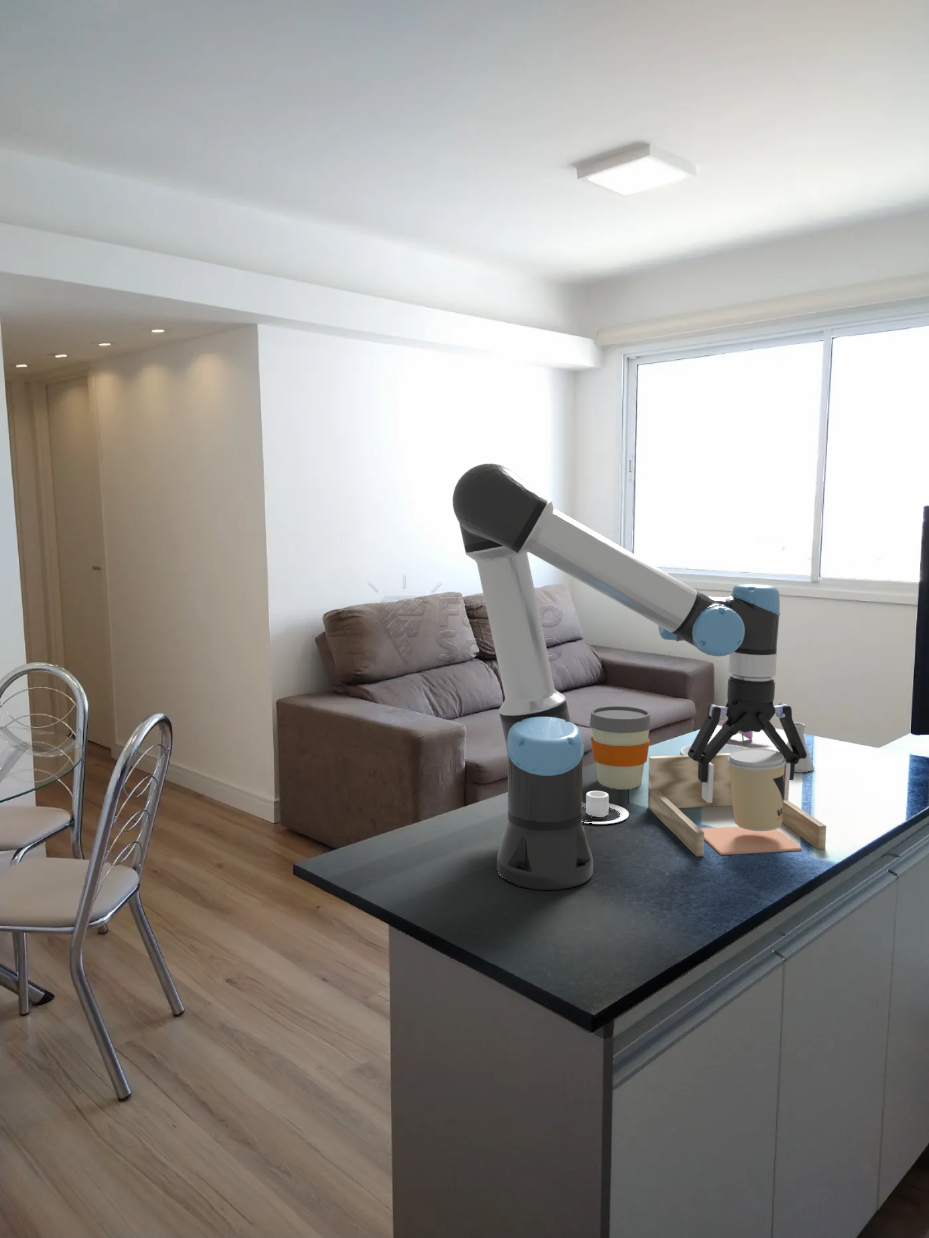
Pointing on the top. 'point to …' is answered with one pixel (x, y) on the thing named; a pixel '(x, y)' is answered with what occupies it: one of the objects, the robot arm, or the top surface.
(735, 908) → the top surface
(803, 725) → the flask
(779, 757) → the coffee cup
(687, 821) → the bay
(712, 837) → the front mat
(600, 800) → the candle holder
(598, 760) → the reusable coffee cup
